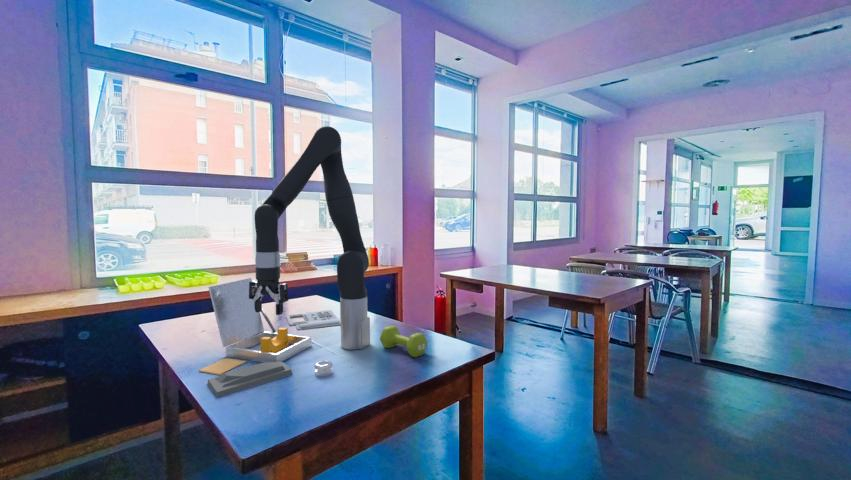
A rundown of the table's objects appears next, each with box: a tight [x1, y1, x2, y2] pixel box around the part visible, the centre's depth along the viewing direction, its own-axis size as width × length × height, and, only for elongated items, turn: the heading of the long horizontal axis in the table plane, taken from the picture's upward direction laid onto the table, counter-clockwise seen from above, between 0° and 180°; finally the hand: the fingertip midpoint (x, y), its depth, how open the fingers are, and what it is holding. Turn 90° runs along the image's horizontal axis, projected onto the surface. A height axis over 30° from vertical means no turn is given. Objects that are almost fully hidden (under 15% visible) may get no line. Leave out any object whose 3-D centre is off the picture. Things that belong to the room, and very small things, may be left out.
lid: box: [207, 277, 265, 348], centre depth 135 cm, size 20×18×1 cm
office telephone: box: [285, 309, 341, 331], centre depth 167 cm, size 23×3×20 cm
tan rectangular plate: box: [198, 357, 247, 376], centre depth 118 cm, size 8×10×1 cm
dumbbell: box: [379, 324, 428, 358], centre depth 131 cm, size 16×8×7 cm, turn 48°
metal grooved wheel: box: [314, 360, 334, 377], centre depth 114 cm, size 5×3×5 cm
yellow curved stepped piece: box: [260, 327, 289, 353], centre depth 131 cm, size 12×4×6 cm, turn 170°
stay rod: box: [260, 307, 276, 332], centre depth 143 cm, size 7×1×10 cm, turn 70°
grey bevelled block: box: [206, 361, 293, 398], centre depth 110 cm, size 10×20×4 cm, turn 133°
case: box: [225, 330, 312, 363], centre depth 132 cm, size 20×19×3 cm
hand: (268, 313), depth 131 cm, fingers open, 8 cm apart
